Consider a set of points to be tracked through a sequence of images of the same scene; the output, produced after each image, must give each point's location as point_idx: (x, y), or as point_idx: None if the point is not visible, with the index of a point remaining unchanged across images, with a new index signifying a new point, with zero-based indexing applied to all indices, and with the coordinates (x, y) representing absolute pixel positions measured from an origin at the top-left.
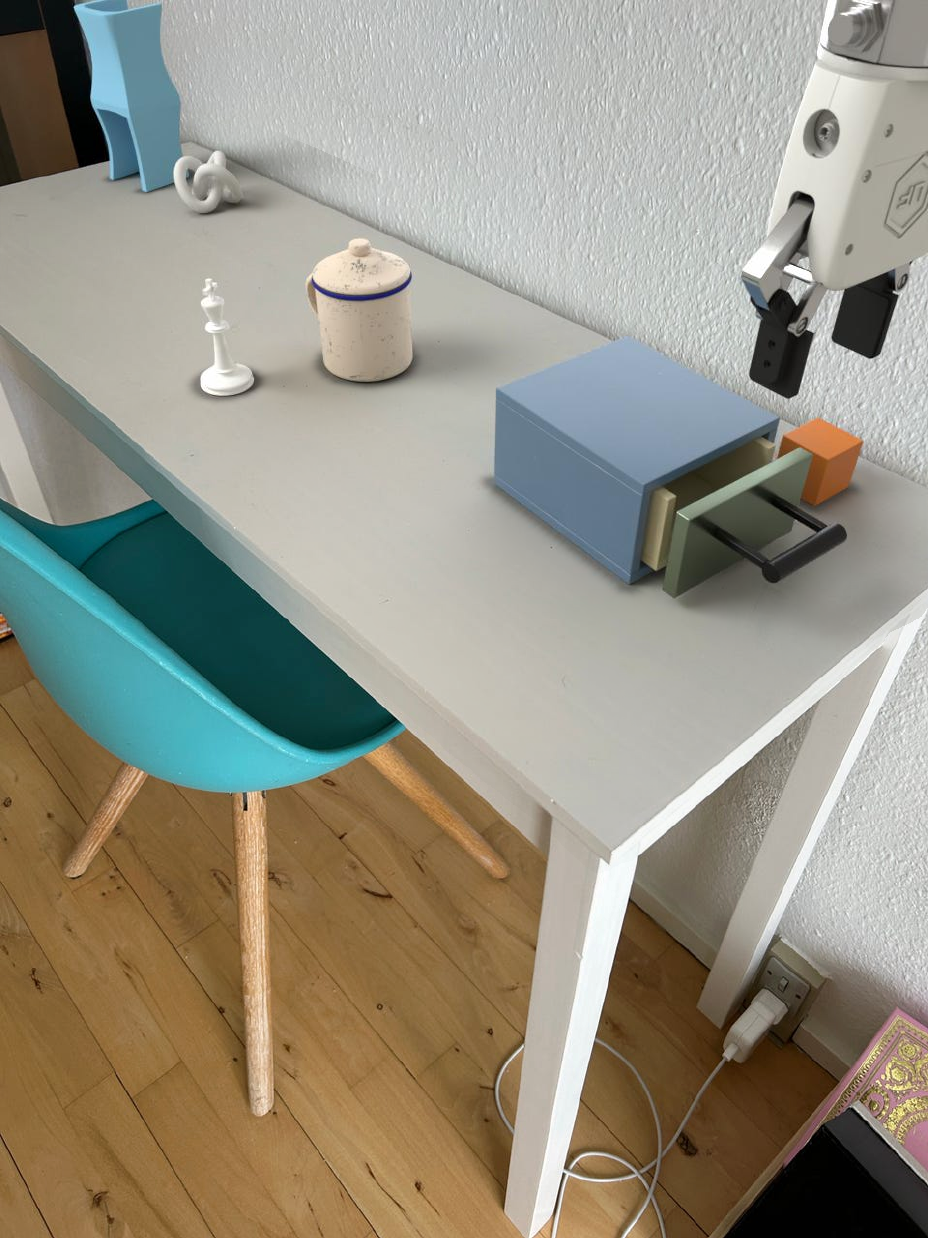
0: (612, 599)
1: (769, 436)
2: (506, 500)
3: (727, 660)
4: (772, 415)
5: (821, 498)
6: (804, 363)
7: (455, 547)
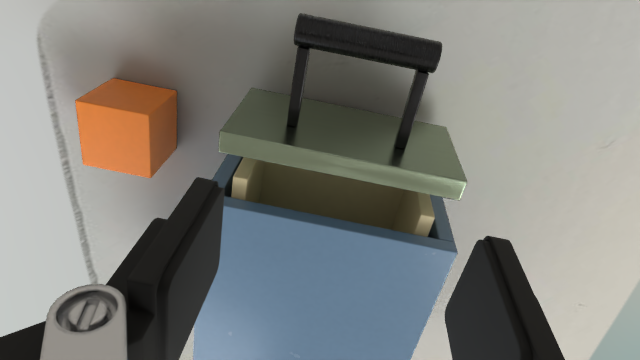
0: (465, 171)
1: None
2: None
3: (486, 33)
4: None
5: (164, 90)
6: (521, 293)
7: None
